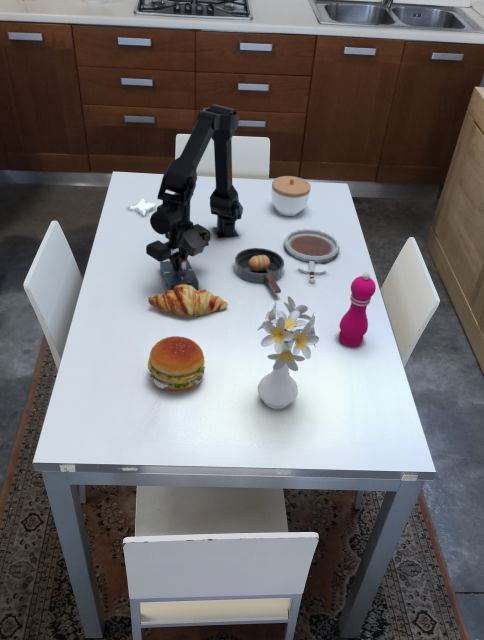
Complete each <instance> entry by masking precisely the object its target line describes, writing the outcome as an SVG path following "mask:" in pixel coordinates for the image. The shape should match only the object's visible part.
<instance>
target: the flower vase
mask: <svg viewBox="0 0 484 640" xmlns="http://www.w3.org/2000/svg"><path fill="white" fill-rule="evenodd" d="M283 305H284V306H285V308H286V310H287V311H288V313H289V314H288V316H287V314H286V313H285V312H284V311H283V310H281V309H277V301H275V302H274V304H273V306H272V309H271V310H269V311H268V312H267V313H266V314H265V318H264V319H265V321H262V323H261V325H260V326H258V328H257V329H256V332H257V331H260V330H261V329H263V330H264V332H266V333H267V334H268V335H266V336H264V337H263V338H262V340H261V341H260V345H261V347H264V348H266V347H269V346H271V345H272V344H274V345H273V346H274V350H275V352H276V353H272V354H268V355H267V358H268V359H269V360H273V361H274V363H273V365H272V371H271V372H270V373H268V374H266V375H264V376H263V377H262V378H261V379H260V380H259V383H258V385H257V393H258V397H260V399H261V400H262V401H263V403H264V404H265V405H266V406H267V407H268V408H271V409H274V410H281V409H284V408H287V406H289V405H290V404H292V403H293V402H295V400H296V399H297V397H298V394H299V387H298V384H297V382H296V380H295V379H294V378H293V377H292V376H291V375H290V370H291V371H292V372H298V371H299V366H298V364H297V362H303V361H305V360H306V359H307V360H310V359H311V356H312V351H311V348H310V347H309V346H314V348H316V344H317V343H319V342H320V337H319V336H318V335H316V330H315V323H316V315H315V312H313V313H312V315H311V316H310V315H308V314H306V312H307V311H308V310H309V307H308V306H307V305H305V304H299V305H297V306H296V302H295V301H294V299H293V298H292V296H289V295H288V296H287V302H286V301H283ZM277 318H278V319H277ZM302 319H303V320H302ZM305 320H308V322H307V321H305ZM302 326H304V327H303V328H297V327H302ZM295 328H296V329H295ZM292 348H293V349H292ZM300 352H301V353H302V355H299V354H300Z"/></svg>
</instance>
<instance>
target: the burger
mask: <svg viewBox="0 0 484 640" xmlns="http://www.w3.org/2000/svg"><path fill="white" fill-rule="evenodd" d="M205 363H206V361H205V356H204V352H203V349H202V348H201V346H200V345H199V344H198V343H197V342H195V341H194V340H192V339H191V338H188V337H185V336H177V335H173V336H168V337H165V338H162V339H160V340H159V341H157V342H155V344H154V345H153V346H152V347H151V349H150V352H149V356H148V361H147V369H148V372H149V373H150V377H151V378H152V380H153V382H154V384H155V385H156V386H157V388H158V389H163V390H165V391H169V392H176V393H177V392H178V393H179V392H185V391H189V390H191V389H193V388H194V387H196V386H197V385H199V384H200V382H201V381H202V380H203V376H204V375H205V374H204V373H205V369H206V367H205Z"/></svg>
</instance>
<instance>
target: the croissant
mask: <svg viewBox="0 0 484 640" xmlns="http://www.w3.org/2000/svg"><path fill="white" fill-rule="evenodd" d="M147 299H148V303H149V305H150V306H152V307H154V308H156V309H158V310H159V311H161V312H163V313H165V314H168V315H169V314H170V315H173V316H176V317H188V318H189V317H191V318H192V317H197V316H202V315H204V314H205V315H208V314H211V313H213V312H216V311H217V312H220V311H223V310H225V309H227V307H228V305H229V303H228V302H227V301H225V300H224V299H223V298H222V297H220V296H219V295H214V294H213V293H211V292H210V291H209V290H207V289H206V288H205V289H201V290H198V291H197V290H196V289H195V288H194V287H193V286H190V285H188V284H181V285H177V286H175V287H174V289H173V290H168V289H166V290H165V291H164V292H163V294H162V293H157V294H155V295H154V296H150V297H148V298H147Z"/></svg>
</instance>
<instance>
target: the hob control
mask: <svg viewBox="0 0 484 640" xmlns="http://www.w3.org/2000/svg"><path fill="white" fill-rule="evenodd" d="M159 271H160V274H161V276H162V279H163V281H164V283H165V285H166V288H167V290H173V289H174V287H175V286H177V285H181V284H188V285H190V286H193V287H194V288H195V289H196V290H197V291H199V280H198V278H197V276H196V274H195V272H194V268H193V267H192V266H191V263H190V261H189V260H188V259H187V261H186V274H184V275H180V274H179V273H177V272H176V271H174V270H173V269H172V264H171V262H170V260H165V261H162V262H159Z"/></svg>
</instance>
